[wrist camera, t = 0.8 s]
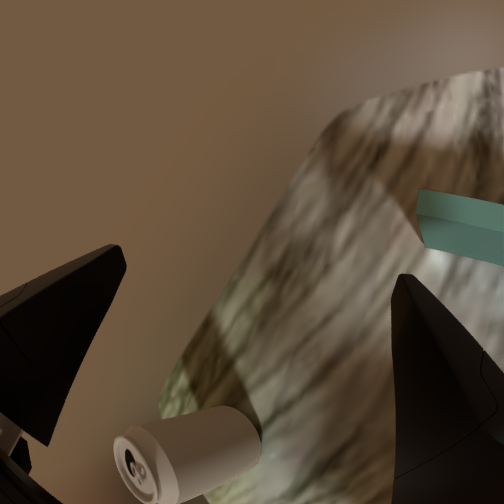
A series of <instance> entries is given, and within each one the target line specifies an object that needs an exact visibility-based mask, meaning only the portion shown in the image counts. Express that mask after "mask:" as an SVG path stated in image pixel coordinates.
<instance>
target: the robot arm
mask: <svg viewBox="0 0 504 504" xmlns="http://www.w3.org/2000/svg"><path fill="white" fill-rule="evenodd" d="M126 267H127V265H126V261H125V258H124V255H123V252H122V249H121V247H119V245H114V244H109V245H106V246H104V247H102V248H100V249H97V250H95V251H92V252H90V253H88V254H86V255H84V256H81V257H79V258H77V259H75V260H73V261H70V262H68V263H66V264H64V265H62V266H60V267H58V268H56V269H54V270H51V271H49V272H47V273H45V274H43V275H41V276H39V277H37V278H35V279H33V280H31V281H29V282H27V283H25V284H23V285H21V286H19V287H17V288H15V289H13V290H11V291H10V292H7V293H5V294H3V295H1V296H0V504H63V503H61V502H60V501H59V500H57V499H56V498H55V497H54V496H52V495H51V494H50V493H49V492H47V491H46V490H45V489H44V488H42V487H41V486H40V485H39V484H38V483H37V482H35V481H34V480H33V479H32V478H31V477H30V476H29V472H30V470H31V468H32V466H31V461H30V456H29V450H28V444H27V441H26V440H25V439H24V438H23V437H22V436H21V435H22V433H23V431H25V432H26V433H28V434H29V435H30V436H32V437H33V438H35V439H36V440H38V441H39V442H40V443H42V444H44V445H45V446H47V447H48V445H49V443H50V441H51V438H52V435H53V432H54V429H55V426H56V424H57V421H58V418H59V415H60V413H61V411H62V408H63V406H64V403H65V399H66V398H67V395H68V393H69V390H70V388H71V386H72V383H73V381H74V379H75V377H76V374H77V372H78V370H79V368H80V365H81V363H82V361H83V359H84V357H85V355H86V352H87V351H88V349H89V346H90V344H91V342H92V340H93V338H94V336H95V334H96V332H97V330H98V328H99V326H100V325H101V323H102V321H103V319H104V317H105V315H106V313H107V311H108V309H109V307H110V305H111V303H112V301H113V299H114V296H115V294H116V292H117V290H118V287H119V285H120V283H121V281H122V278H123V276H124V274H125V272H126ZM391 342H392V359H393V371H394V385H395V407H396V451H395V472H394V483H393V494H392V503H391V504H504V373H503V372H502V370H501V369H500V368H499V367H498V366H497V364H496V363H495V362H494V361H493V360H492V358H491V357H490V356H489V355H488V354H487V352H486V351H485V350H484V351H483V348H482V347H481V345H480V344H479V343H478V342H477V341H476V340H475V339H474V337H473V336H472V335H471V334H470V333H469V332H468V331H467V330H466V328H465V327H464V326H463V325H462V324H461V323H460V322H459V321H458V320H457V319H456V318H455V317H454V315H453V314H452V313H451V312H450V311H449V310H448V309H447V308H446V307H445V306H444V305H443V304H442V303H441V302H440V301H439V300H438V299H437V298H436V297H435V296H434V295H433V294H432V293H431V292H430V291H429V290H428V289H427V288H426V287H425V286H424V285H423V284H422V283H421V282H420V281H419V280H418V279H417V278H416V277H415V276H414V275H412V274H400V275H399V276H398V278H397V281H396V284H395V287H394V290H393V293H392V297H391Z"/></svg>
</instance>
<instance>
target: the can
mask: <svg viewBox="0 0 504 504" xmlns="http://www.w3.org/2000/svg"><path fill="white" fill-rule="evenodd" d="M114 456H115V461H116V464H117V467H118V470H119V472H120V474H121V476H122V478H123V480H124V482H125V484H126V485H127V487H128V488H129V489H130V491H131V492H132V493H133V494H134V496H135V497H137V498H138V499H139V500H140V501H141V502H143V503H145V504H155V503H159V504H180V503H182V502H185V501H187V500H190V499H192V498H194V497H196V496H199V495H201V494H203V493H205V492H208V491H210V490H212V489H214V488H216V487H218V486H220V485H222V484H224V483H226V482H228V481H230V480H232V479H234V478H236V477H237V476H239V475H241V474H243V473H245V472H246V471H248V470H250V469H252V468H253V467H254V466H255V465H256V464H257V463H258V461H259V458H260V456H261V442H260V439H259V435H258V432H257V430H256V429H255V427H254V425H253V424H252V422H251V421H250V420H249V419H248V418H247V417H246V416H245V415H244V414H243V413H241V412H240V411H238V410H237V409H235V408H232V407H229V406H225V405H224V406H216V407H212V408H209V409H205V410H201V411H197V412H193V413H189V414H185V415H181V416H177V417H172V418H168V419H163V420H159V421H153V422H148V423H142V424H136V425H132V426H131V427H129V428H128V429H127V431H126V433H125V435H119V436H117V437H116V438H115V441H114Z"/></svg>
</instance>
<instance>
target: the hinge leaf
mask: <svg viewBox="0 0 504 504" xmlns="http://www.w3.org/2000/svg"><path fill="white" fill-rule="evenodd" d="M415 214H416V217H417V220H418V224H419V227H420V230H421V234H422V237H423V241H424V245H425V247H426V248H431V249H435V250H440V251H444V252H449V253H453V254H457V255H462V256H466V257H470V258H474V259H478V260H482V261H486V262H490V263H494V264H498V265H502V266H504V205H501V204H497V203H493V202H488V201H484V200H479V199H474V198H469V197H464V196H459V195H454V194H448V193H442V192H436V191H430V190H424V189H419V191H418V199H417V206H416V213H415Z"/></svg>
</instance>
